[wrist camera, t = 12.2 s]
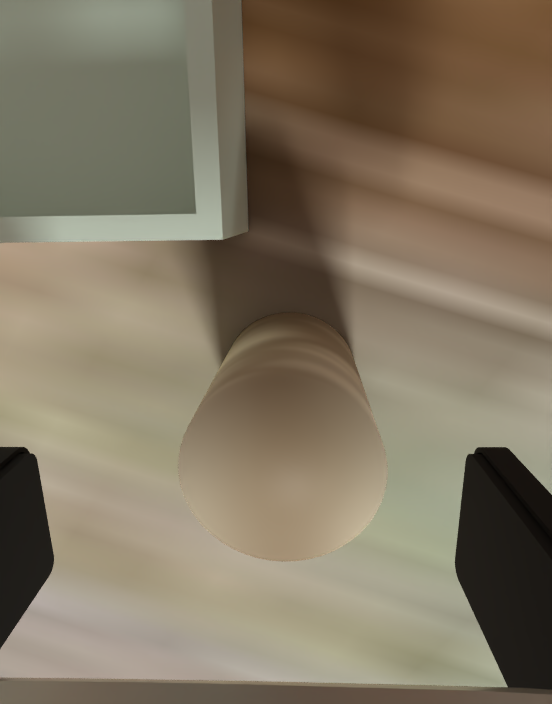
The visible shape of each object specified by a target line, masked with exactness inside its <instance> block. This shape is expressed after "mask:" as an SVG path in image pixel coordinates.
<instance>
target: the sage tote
mask: <svg viewBox="0 0 552 704" xmlns="http://www.w3.org/2000/svg"><path fill="white" fill-rule="evenodd" d="M248 231H249V227H248V195H247V162H246V130H245V97H244V65H243V32H242V0H0V243H6V242H84V241H162V240H224V239H227V238H230V237H233V236H236V235H239V234H242V233H245V232H248Z"/></svg>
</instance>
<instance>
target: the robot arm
mask: <svg viewBox="0 0 552 704" xmlns="http://www.w3.org/2000/svg"><path fill="white" fill-rule="evenodd" d="M53 564H54V555H53V549H52V543H51V537H50V532H49V526H48V520H47V514H46V509H45V503H44V497H43V491H42V486H41V480H40V474H39V468H38V463H37V459H36V457H35V455H34V454H30V453H29V451H28V449H26V448H25V447H0V648H1V647H2V645H3V644H4V642H5V641H6V639H7V638H8V636H9V635H10V633H11V632H12V630H13V629H14V628H15V626H16V625H17V623H18V622H19V620H20V619H21V617H22V616H23V614H24V613H25V611H26V610H27V608H28V607H29V605H30V604H31V602H32V601H33V599H34V598H35V596H36V595H37V593H38V592H39V590H40V589H41V587H42V586H43V584H44V583H45V581H46V580H47V578H48V577H49V575H50V573H51V571H52V568H53ZM455 568H456V573H457V577H458V580H459V582H460V584H461V586H462V588H463V591H464V593H465V595H466V597H467V599H468V601H469V604H470V606H471V608H472V610H473V612H474V614H475V617H476V619H477V621H478V623H479V625H480V627H481V630H482V632H483V634H484V636H485V638H486V640H487V643H488V645H489V647H490V649H491V651H492V653H493V656H494V658H495V660H496V662H497V664H498V666H499V669H500V671H501V673H502V675H503V677H504V679H505V682H506V684H507V686H508V687H471V686H437V685H394V684H351V683H309V682H262V681H207V680H148V679H85V678H0V704H552V495H551V494H550V493H549V492H548V490H547V489H546V488H545V487H544V486H543V485H542V484H541V483H540V482H539V481H538V480H537V479H536V478H535V477H534V476H533V474H532V473H531V472H530V471H529V470H528V469H527V468H526V467H525V466H524V465H523V464H522V463H521V462H520V461H519V460H518V458H517V457H516V456H515V455H514V454H513V453H512V452H511V451H510V450H509V449H508V448H506V447H478V448H477V449H476V450H475V453H474V454H469V455H468V456H467V458H466V464H465V473H464V482H463V491H462V501H461V510H460V519H459V528H458V538H457V547H456V556H455Z"/></svg>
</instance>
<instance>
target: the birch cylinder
mask: <svg viewBox="0 0 552 704" xmlns="http://www.w3.org/2000/svg"><path fill="white" fill-rule="evenodd" d="M178 469H179V479H180V485H181V488H182V491H183V495H184V497H185V499H186V502H187V504H188V506H189V508H190V509H191V511H192V512H193V514H194V516H195V517H196V518H197V520H198V521H199V522H200V523H201V524H202V526H203V527H204V528H205V529H206V530H207V531H208V532H209V533H211V534H212V535H213V536H214V537H215V538H217V539H218V540H220V541H221V542H222V543H224V544H226V545H227V546H229V547H231V548H233V549H235V550H237V551H239V552H241V553H244V554H246V555H250V556H253V557H256V558H261V559H266V560H272V561H299V560H306V559H311V558H315V557H319V556H322V555H325V554H327V553H330V552H333V551H335V550H336V549H338V548H340V547H342V546H344V545H345V544H347V543H348V542H350V541H351V540H353V539H354V538H355V537H356V536H357V535H358V534H360V533H361V532H362V531H363V530H364V529H365V527H366V526H367V525H368V524H369V523H370V522H371V520H372V519H373V517H374V516H375V514H376V512H377V511H378V509H379V506H380V504H381V502H382V500H383V496H384V493H385V490H386V484H387V476H388V472H387V458H386V452H385V449H384V446H383V442H382V439H381V436H380V434H379V431H378V428H377V425H376V422H375V419H374V416H373V413H372V411H371V408H370V405H369V402H368V399H367V396H366V393H365V390H364V388H363V385H362V382H361V379H360V376H359V373H358V370H357V367H356V365H355V362H354V359H353V356H352V353H351V351H350V349H349V347H348V345H347V343H346V342H345V340H344V339H343V338H342V336H341V335H340V334H339V333H338V332H337V331H336V330H335V329H334V328H332V327H331V326H330V325H328V324H327V323H325V322H324V321H322V320H320V319H318V318H316V317H313V316H310V315H306V314H301V313H291V312H287V313H278V314H273V315H269V316H266V317H263V318H261V319H259V320H257V321H255V322H254V323H252V324H251V325H249V326H248V327H247V328H246V329H245V330H244V331H242V332H241V334H240V335H239V336H238V337H237V338H236V340H235V341H234V343H233V345H232V346H231V348H230V350H229V352H228V354H227V355H226V357H225V359H224V361H223V363H222V365H221V367H220V368H219V370H218V372H217V374H216V376H215V378H214V380H213V381H212V383H211V385H210V387H209V389H208V391H207V392H206V394H205V396H204V398H203V400H202V402H201V404H200V405H199V407H198V409H197V411H196V413H195V415H194V417H193V418H192V420H191V422H190V424H189V426H188V428H187V430H186V432H185V434H184V437H183V440H182V444H181V447H180V453H179V460H178Z"/></svg>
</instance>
